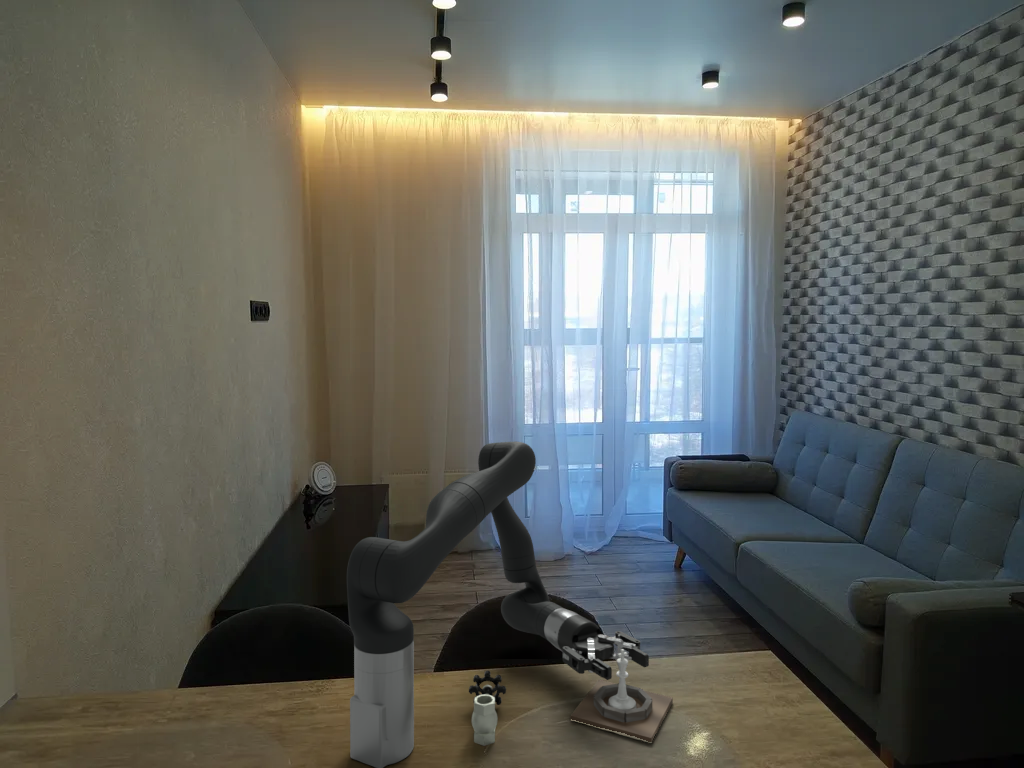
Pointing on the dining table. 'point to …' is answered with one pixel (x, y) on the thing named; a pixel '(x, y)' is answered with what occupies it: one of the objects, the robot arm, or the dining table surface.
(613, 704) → the chess piece
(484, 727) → the valve
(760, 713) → the dining table surface
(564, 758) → the dining table surface
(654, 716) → the board
